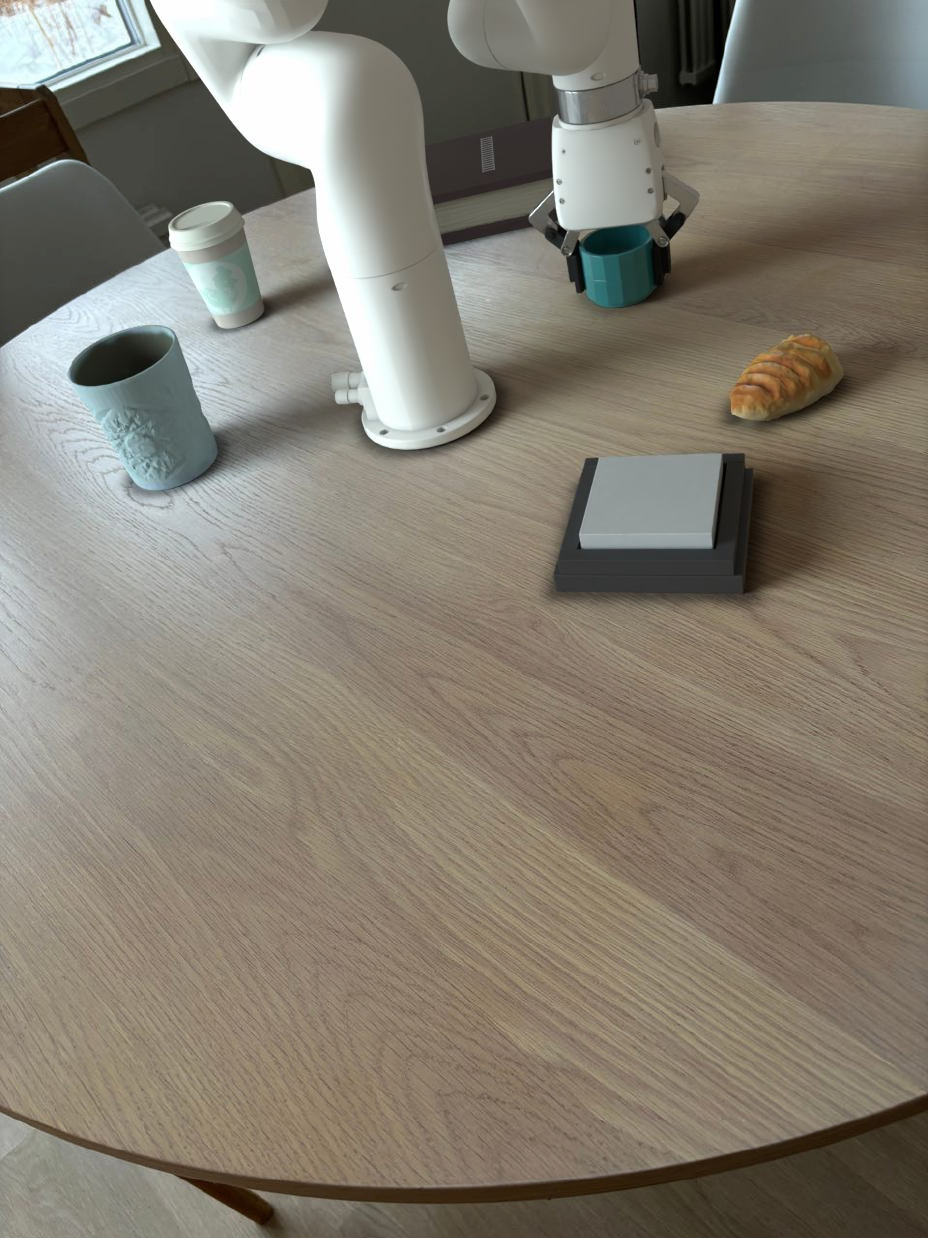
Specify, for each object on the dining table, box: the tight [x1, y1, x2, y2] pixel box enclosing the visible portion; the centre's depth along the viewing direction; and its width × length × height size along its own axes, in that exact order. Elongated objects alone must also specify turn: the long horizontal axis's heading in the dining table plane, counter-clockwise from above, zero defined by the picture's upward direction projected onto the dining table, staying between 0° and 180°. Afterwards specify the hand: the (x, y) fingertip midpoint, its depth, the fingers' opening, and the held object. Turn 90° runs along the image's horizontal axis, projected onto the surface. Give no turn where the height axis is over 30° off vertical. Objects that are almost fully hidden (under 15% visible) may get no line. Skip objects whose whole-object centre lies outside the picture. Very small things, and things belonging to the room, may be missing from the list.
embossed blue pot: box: [66, 324, 219, 491], centre depth 93 cm, size 10×10×12 cm
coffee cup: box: [168, 200, 265, 330], centre depth 114 cm, size 8×8×12 cm
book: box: [425, 115, 559, 246], centre depth 125 cm, size 28×20×6 cm
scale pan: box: [579, 452, 723, 549], centre depth 72 cm, size 9×9×2 cm
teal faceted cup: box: [579, 224, 658, 309], centre depth 100 cm, size 7×7×6 cm
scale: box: [552, 452, 754, 595], centre depth 73 cm, size 13×12×3 cm
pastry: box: [729, 333, 845, 422], centre depth 82 cm, size 9×7×4 cm
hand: (621, 282), depth 102 cm, fingers closed on teal faceted cup, 7 cm apart
